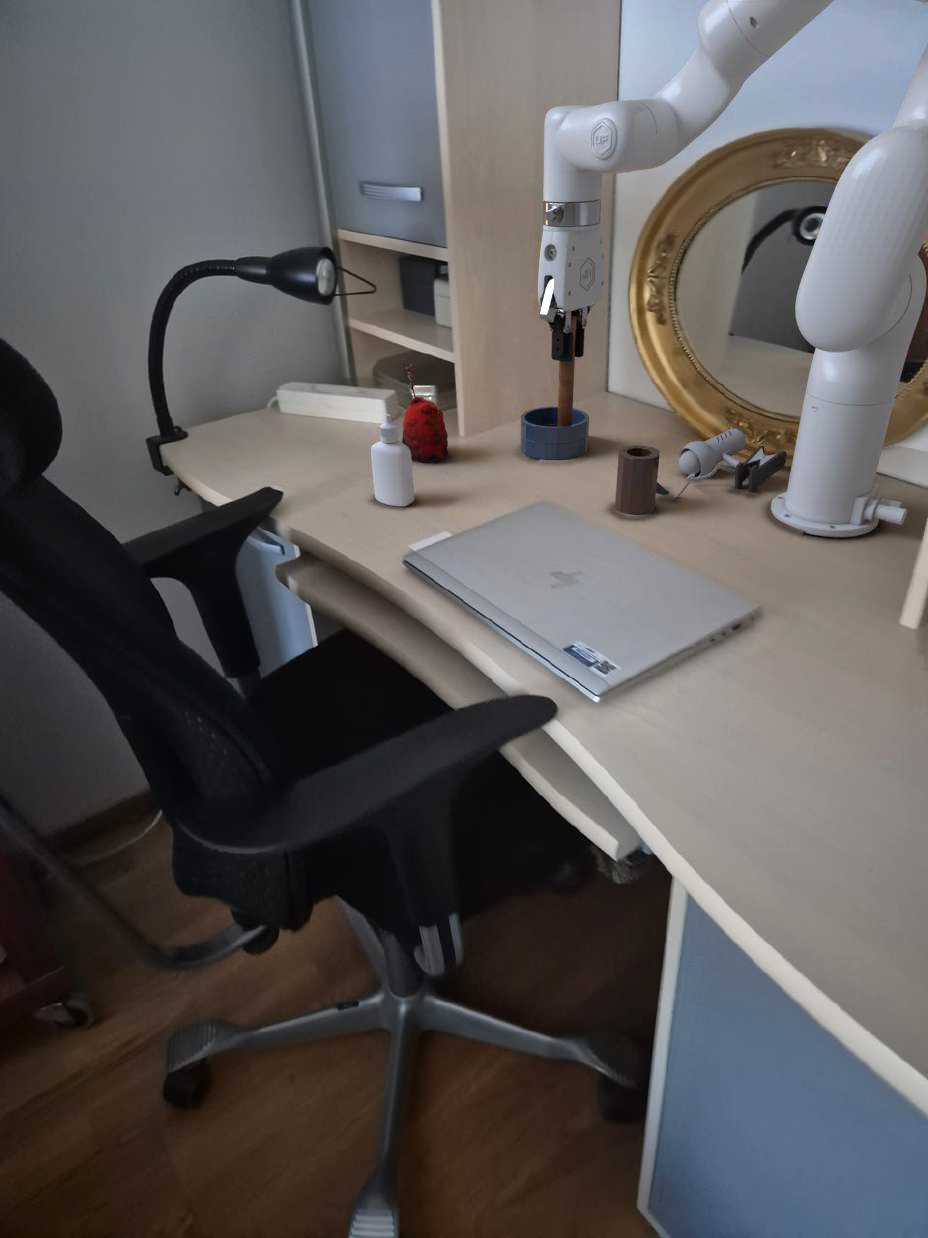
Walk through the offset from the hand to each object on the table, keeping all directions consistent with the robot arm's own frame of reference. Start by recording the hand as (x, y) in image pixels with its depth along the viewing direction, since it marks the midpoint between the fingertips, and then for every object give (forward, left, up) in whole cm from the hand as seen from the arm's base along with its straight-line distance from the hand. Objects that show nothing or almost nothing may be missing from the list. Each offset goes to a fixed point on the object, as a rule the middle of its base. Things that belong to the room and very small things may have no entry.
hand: (567, 356), depth 116 cm
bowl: (+2, 0, -15) cm, 15 cm away
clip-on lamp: (-23, -1, -15) cm, 27 cm away
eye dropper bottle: (+9, +28, -15) cm, 33 cm away
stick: (0, 0, -12) cm, 12 cm away
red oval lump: (+17, +13, -15) cm, 26 cm away
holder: (-19, +12, -15) cm, 27 cm away
